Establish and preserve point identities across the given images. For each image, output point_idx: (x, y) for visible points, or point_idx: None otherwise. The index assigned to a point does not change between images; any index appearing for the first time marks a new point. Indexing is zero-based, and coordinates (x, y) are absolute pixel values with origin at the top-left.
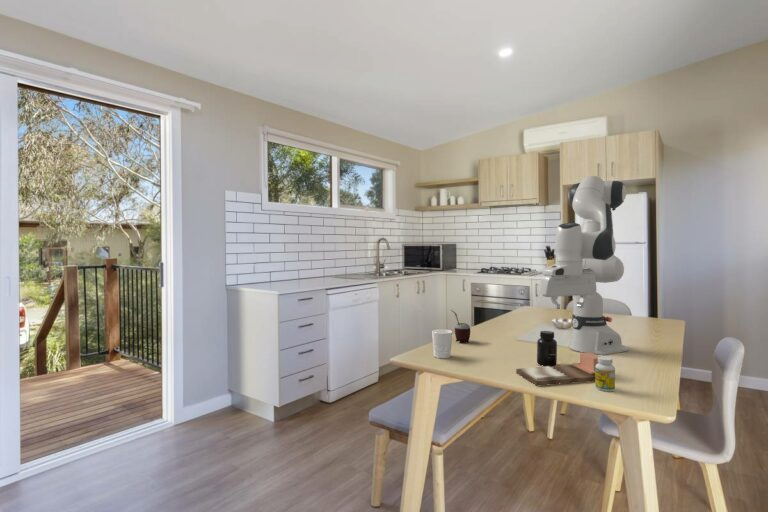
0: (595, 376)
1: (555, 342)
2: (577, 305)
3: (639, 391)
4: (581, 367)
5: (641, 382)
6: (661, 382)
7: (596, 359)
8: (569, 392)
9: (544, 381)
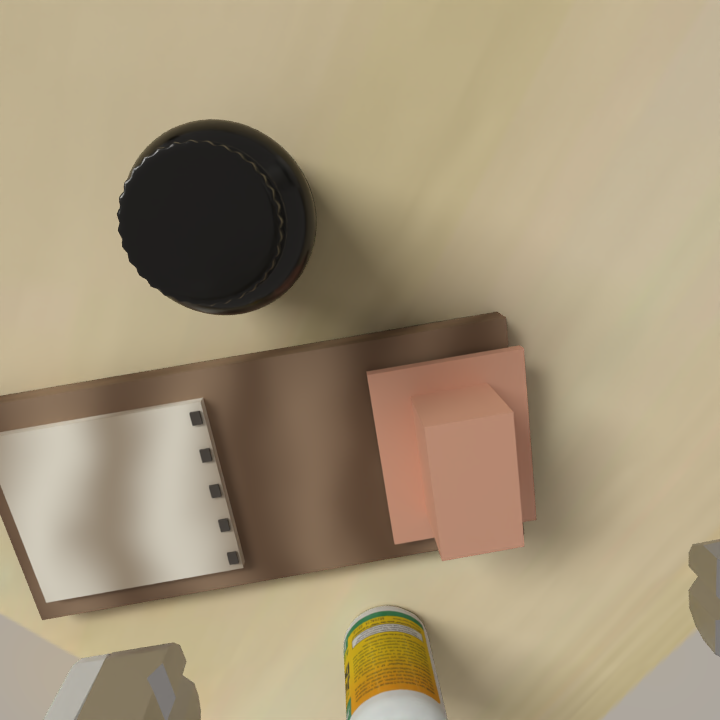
0: (348, 674)
1: (281, 290)
2: (711, 572)
3: (521, 663)
4: (386, 456)
5: (617, 561)
6: None
7: (462, 552)
8: (194, 673)
9: (91, 609)
